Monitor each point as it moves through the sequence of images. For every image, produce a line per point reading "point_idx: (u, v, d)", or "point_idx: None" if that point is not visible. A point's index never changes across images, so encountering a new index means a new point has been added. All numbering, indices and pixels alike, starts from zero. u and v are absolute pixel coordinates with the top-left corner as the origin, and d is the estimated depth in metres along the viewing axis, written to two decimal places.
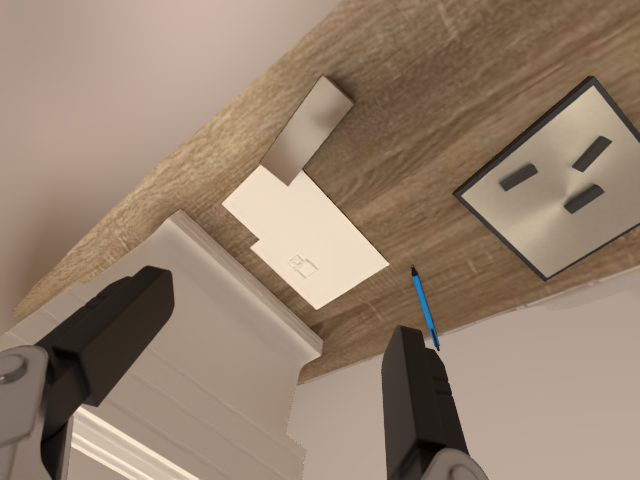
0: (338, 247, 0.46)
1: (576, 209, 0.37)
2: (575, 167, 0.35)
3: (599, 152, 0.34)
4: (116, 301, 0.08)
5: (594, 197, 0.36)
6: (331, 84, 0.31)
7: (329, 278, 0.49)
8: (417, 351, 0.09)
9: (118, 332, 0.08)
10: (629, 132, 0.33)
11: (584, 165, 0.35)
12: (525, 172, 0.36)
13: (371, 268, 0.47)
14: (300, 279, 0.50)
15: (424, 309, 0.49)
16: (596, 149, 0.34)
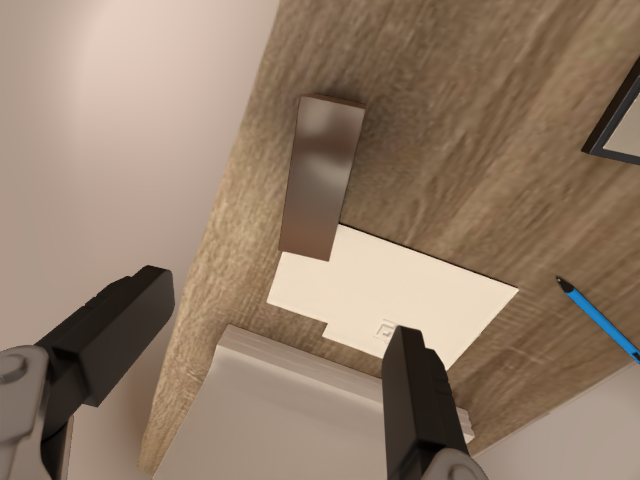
0: (432, 295, 0.32)
1: None
2: None
3: None
4: (116, 301, 0.08)
5: None
6: (320, 101, 0.19)
7: (438, 336, 0.35)
8: (417, 351, 0.09)
9: (118, 332, 0.08)
10: None
11: None
12: None
13: (494, 304, 0.32)
14: None
15: (608, 330, 0.31)
16: None
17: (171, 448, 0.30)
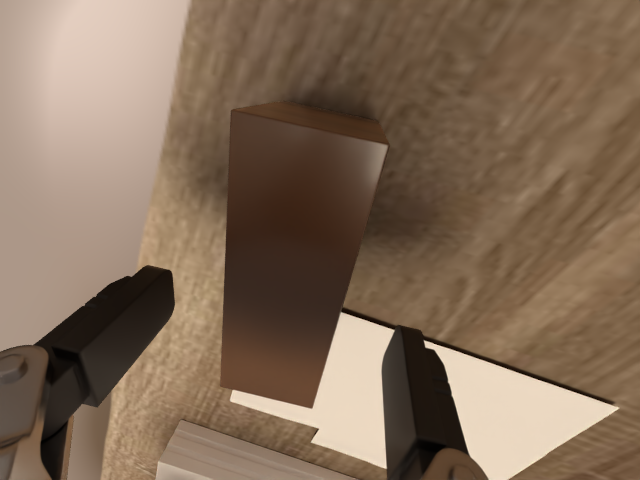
0: (477, 407, 0.21)
1: None
2: None
3: None
4: (116, 301, 0.08)
5: None
6: (278, 125, 0.08)
7: (481, 454, 0.24)
8: (417, 351, 0.09)
9: (118, 332, 0.08)
10: None
11: None
12: None
13: (573, 424, 0.21)
14: None
15: None
16: None
17: None
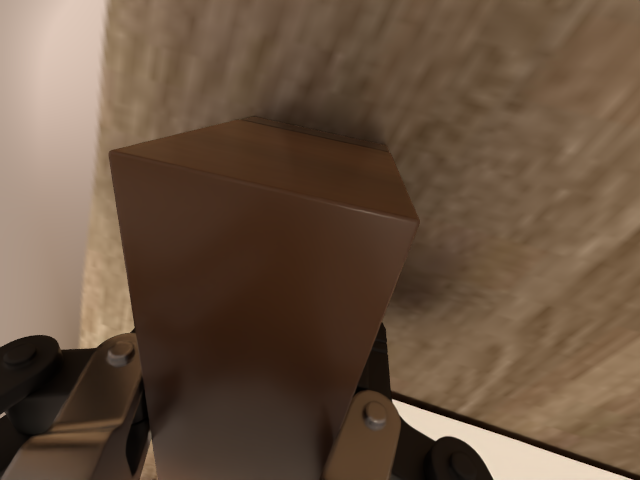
0: None
1: None
2: None
3: None
4: None
5: None
6: (200, 180, 0.04)
7: None
8: None
9: None
10: None
11: None
12: None
13: None
14: None
15: None
16: None
17: None
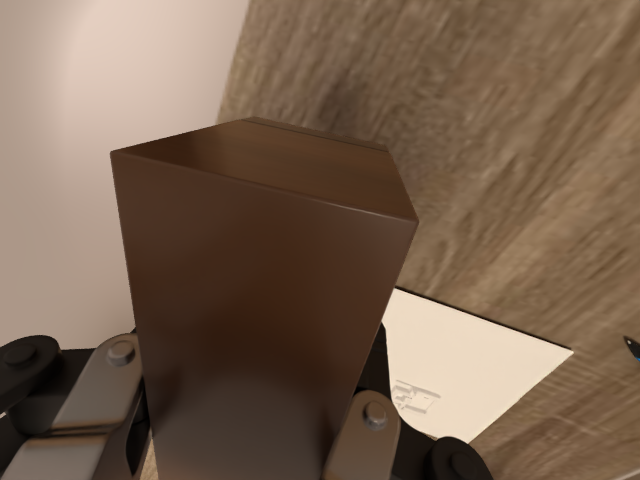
0: (460, 355, 0.25)
1: None
2: None
3: None
4: None
5: None
6: (201, 180, 0.04)
7: (465, 401, 0.28)
8: None
9: None
10: None
11: None
12: None
13: (539, 368, 0.25)
14: (416, 414, 0.30)
15: None
16: None
17: None
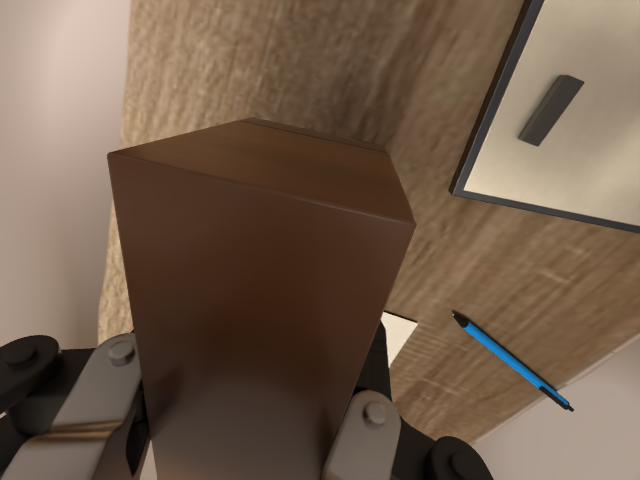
0: None
1: None
2: None
3: None
4: None
5: None
6: (198, 183, 0.04)
7: None
8: None
9: None
10: None
11: None
12: (557, 97, 0.18)
13: (396, 338, 0.31)
14: None
15: (511, 364, 0.30)
16: None
17: None
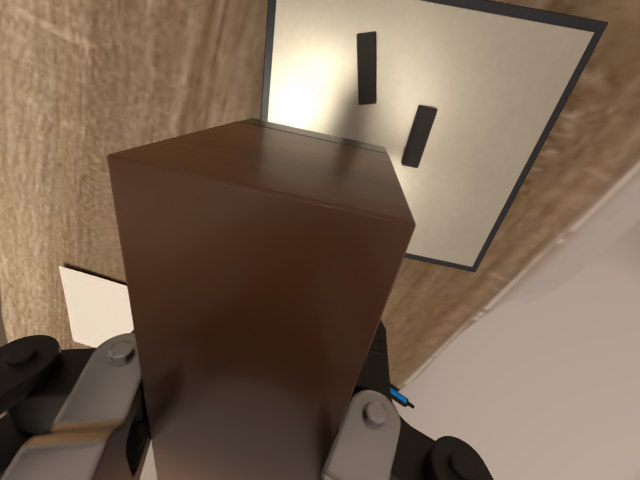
0: None
1: (417, 158, 0.21)
2: (359, 103, 0.20)
3: (371, 60, 0.18)
4: None
5: (428, 126, 0.20)
6: (198, 184, 0.04)
7: None
8: None
9: None
10: None
11: (368, 92, 0.19)
12: None
13: None
14: None
15: None
16: (362, 59, 0.19)
17: None
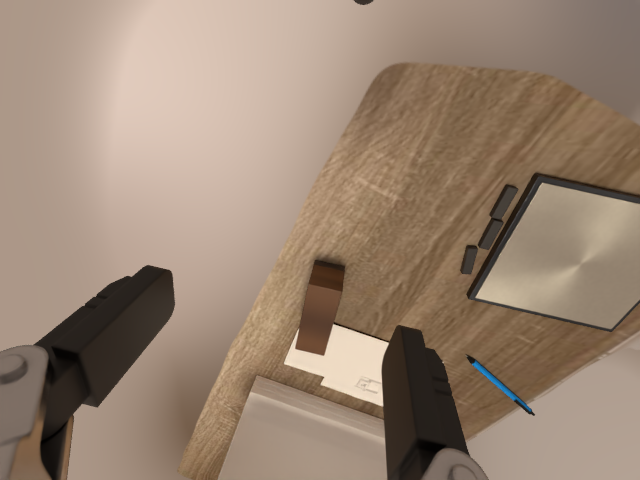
0: None
1: None
2: None
3: None
4: (116, 301, 0.08)
5: None
6: (318, 287, 0.37)
7: None
8: (417, 351, 0.09)
9: (118, 332, 0.08)
10: (608, 197, 0.32)
11: None
12: None
13: None
14: (372, 394, 0.55)
15: (498, 386, 0.49)
16: None
17: (226, 462, 0.49)
